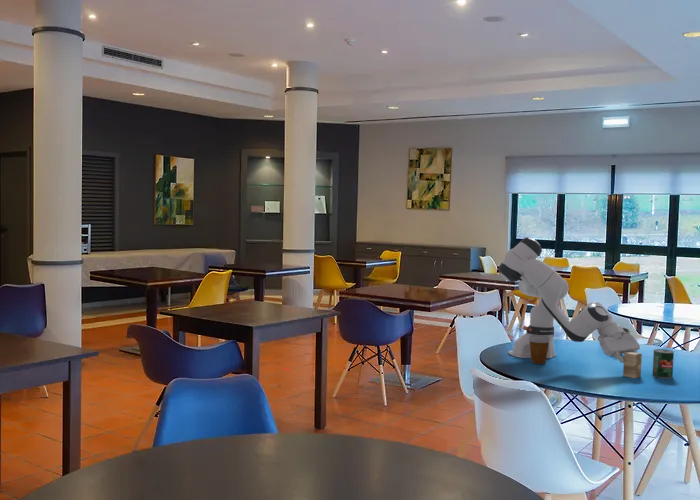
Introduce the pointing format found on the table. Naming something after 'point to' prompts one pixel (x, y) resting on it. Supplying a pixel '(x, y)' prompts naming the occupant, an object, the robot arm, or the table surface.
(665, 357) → the canned tomato
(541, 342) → the disposable coffee cup
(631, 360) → the oak block
